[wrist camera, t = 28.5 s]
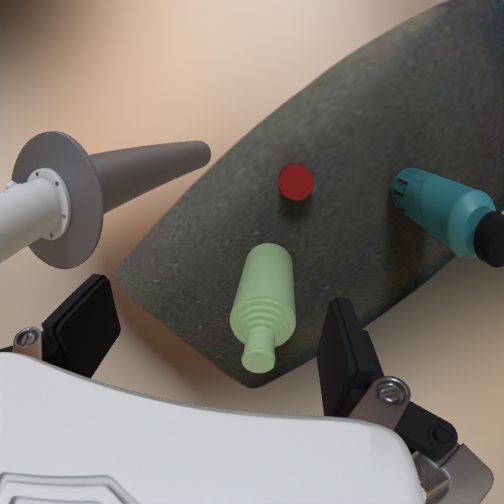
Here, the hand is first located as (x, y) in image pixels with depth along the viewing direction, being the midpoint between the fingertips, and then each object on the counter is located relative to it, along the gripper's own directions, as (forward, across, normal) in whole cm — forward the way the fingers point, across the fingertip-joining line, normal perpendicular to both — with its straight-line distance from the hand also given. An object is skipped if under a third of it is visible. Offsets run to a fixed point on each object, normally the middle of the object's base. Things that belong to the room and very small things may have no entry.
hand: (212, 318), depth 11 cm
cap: (+26, -5, -2) cm, 26 cm away
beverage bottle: (+26, -20, -3) cm, 33 cm away
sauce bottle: (+26, -2, +10) cm, 28 cm away
